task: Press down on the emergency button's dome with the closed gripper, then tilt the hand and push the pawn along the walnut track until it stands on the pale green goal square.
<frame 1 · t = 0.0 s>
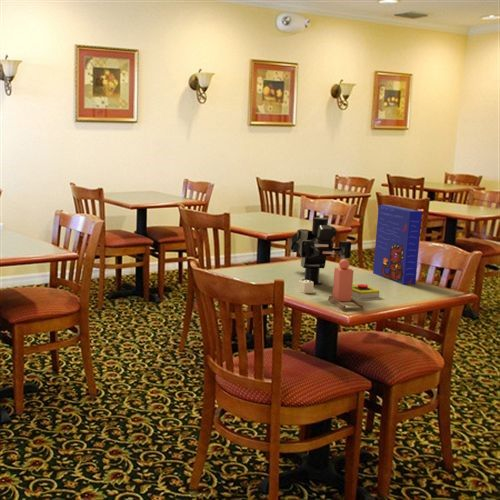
hand: (331, 253, 238), 17 cm above the table, tool horizontal, fingers open, 9 cm apart
track: (345, 305, 232), on the table
cereal box: (393, 279, 281), on the table
pawn: (343, 279, 234), point 9 cm above the table, slide at 0.0 cm
emergency button: (360, 296, 249), on the table
die: (305, 291, 250), on the table
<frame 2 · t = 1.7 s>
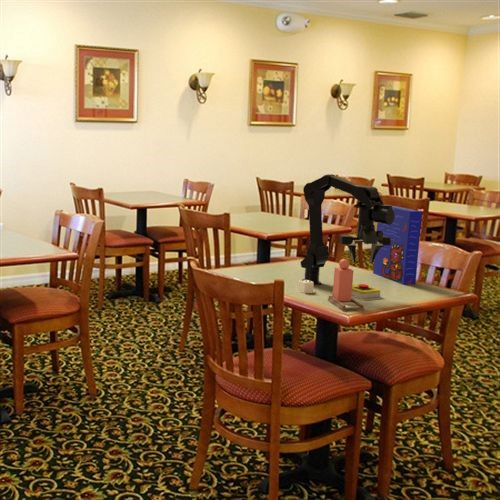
hand: (362, 263, 247), 12 cm above the table, tool pointing down, fingers open, 6 cm apart
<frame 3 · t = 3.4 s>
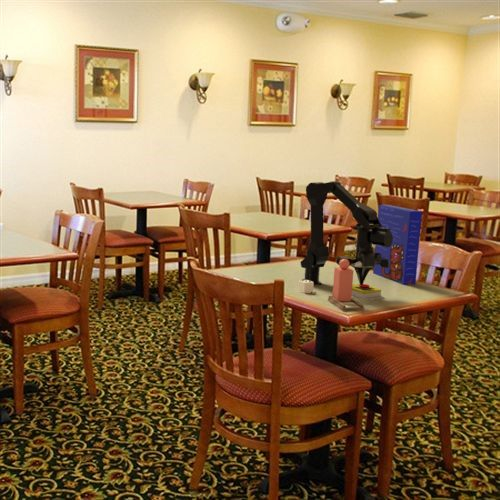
hand: (361, 284, 248), 4 cm above the table, tool pointing down, fingers closed
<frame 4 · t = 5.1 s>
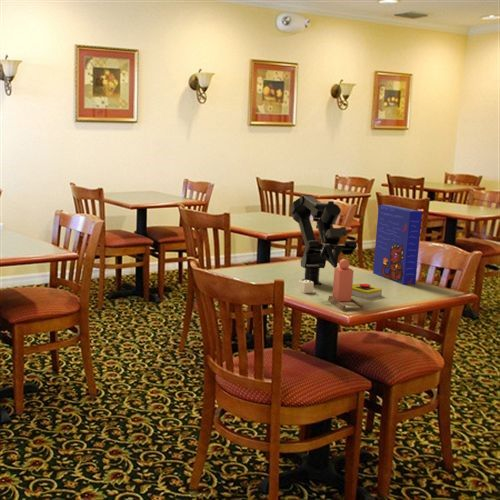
hand: (335, 267, 241), 11 cm above the table, tool tilted 45°, fingers closed
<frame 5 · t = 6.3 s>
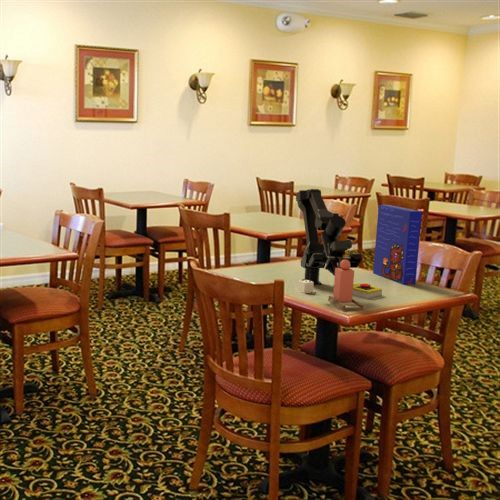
hand: (340, 280, 236), 8 cm above the table, tool tilted 45°, fingers closed, pressing on pawn
pawn: (344, 279, 233), point 9 cm above the table, slide at 0.8 cm, touching gripper
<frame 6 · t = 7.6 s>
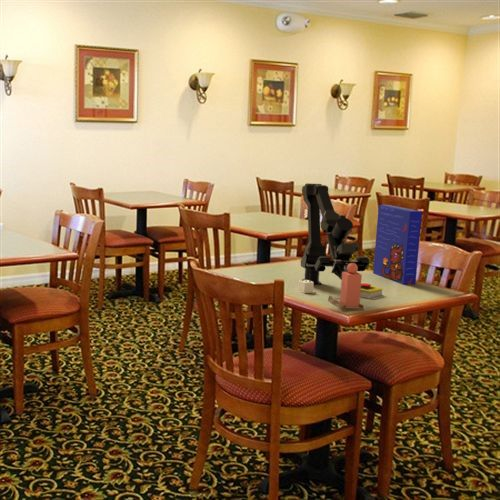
hand: (347, 284, 230), 8 cm above the table, tool tilted 45°, fingers closed, pressing on pawn
pawn: (351, 283, 227), point 9 cm above the table, slide at 6.9 cm, touching gripper
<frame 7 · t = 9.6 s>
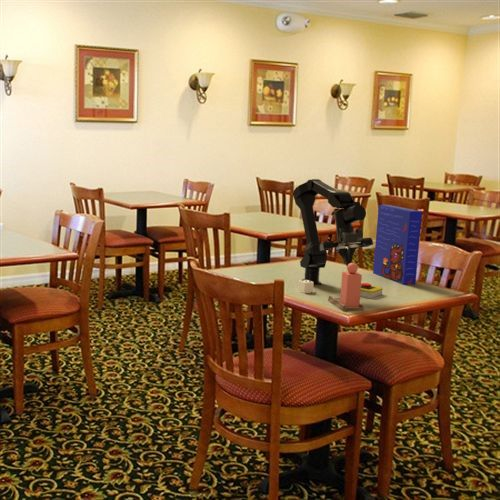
hand: (349, 267, 243), 11 cm above the table, tool tilted 20°, fingers closed
pawn: (351, 283, 227), point 9 cm above the table, slide at 7.0 cm
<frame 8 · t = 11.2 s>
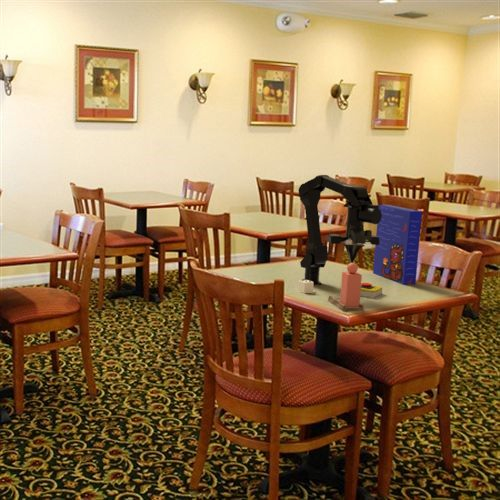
hand: (351, 262, 247), 12 cm above the table, tool pointing down, fingers closed
at the end: pawn slide at 7.0 cm; emergency button moved 3.0 cm from its start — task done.
